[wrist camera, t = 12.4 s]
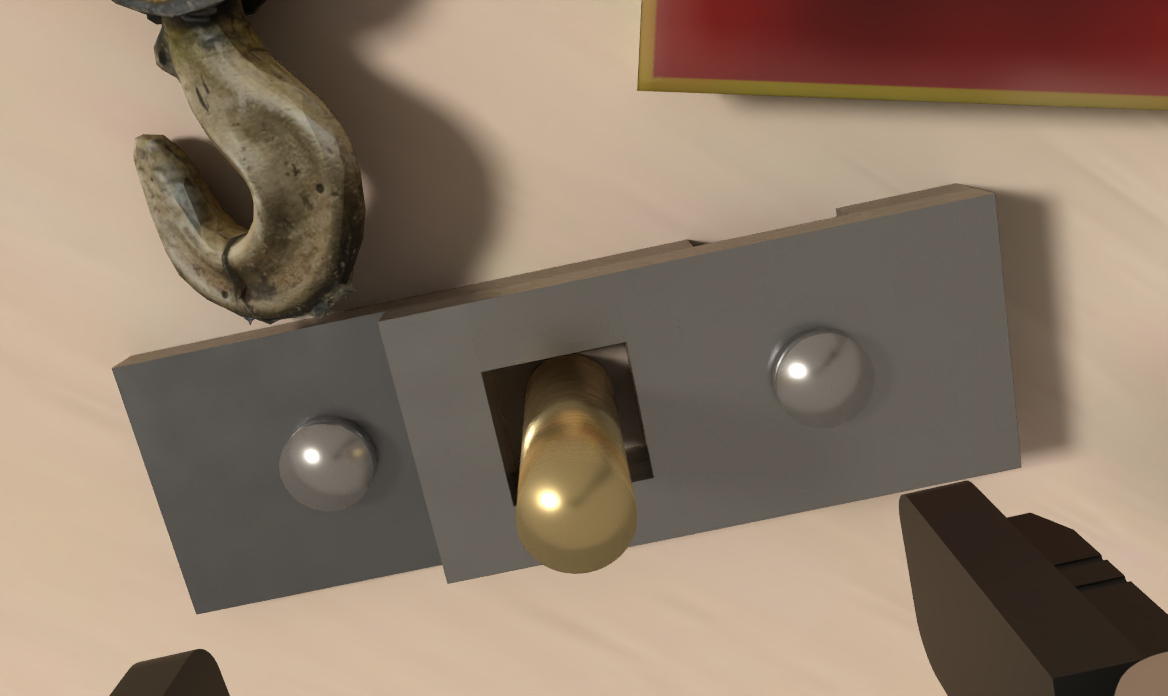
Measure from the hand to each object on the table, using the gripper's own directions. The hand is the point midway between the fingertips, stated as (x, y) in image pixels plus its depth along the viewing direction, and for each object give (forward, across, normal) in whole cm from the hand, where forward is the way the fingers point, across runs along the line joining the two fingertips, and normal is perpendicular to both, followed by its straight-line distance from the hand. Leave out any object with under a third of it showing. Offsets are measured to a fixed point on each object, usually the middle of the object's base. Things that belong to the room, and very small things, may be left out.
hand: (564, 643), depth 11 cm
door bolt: (+22, +1, +4) cm, 23 cm away
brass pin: (+22, +1, +4) cm, 23 cm away
